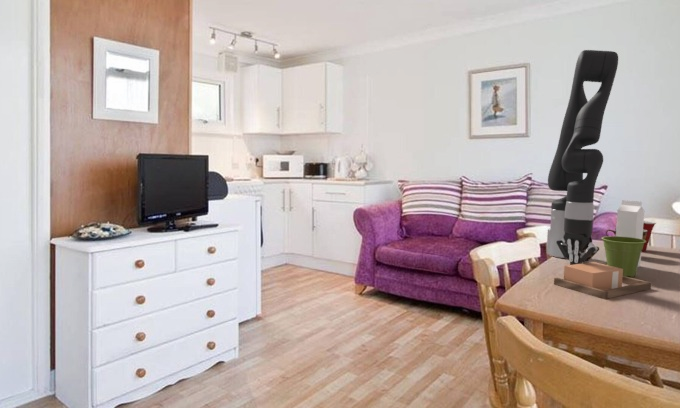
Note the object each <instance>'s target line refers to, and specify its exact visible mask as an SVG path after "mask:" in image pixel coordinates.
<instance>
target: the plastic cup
mask: <svg viewBox="0 0 680 408" xmlns="http://www.w3.org/2000/svg"><path fill="white" fill-rule="evenodd" d="M656 224H657V222H656V221H649V220H644V224H643V229H644V230H647V235H646V238H645V240H646V243H644V246H643V249H642V250H641V252H646V251H647V249H648V244H649V241H650V239H651V234H652V233H653V232H652V231H653V229H654V228H655V225H656Z"/></svg>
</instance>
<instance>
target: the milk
mask: <svg viewBox="0 0 680 408" xmlns="http://www.w3.org/2000/svg"><path fill="white" fill-rule="evenodd" d="M642 203H643V202H642V201H637V200H636V201H635V200H626V199H625V200H621V205H620V206H619V208H618V209H617V213H616V226H615V228H616V230H615V231H616V236H619V237H632V238H638V239H642V237H643V224H644V221H645V209H644V208H643V207H642V205H643V204H642ZM641 261H642V253H641V254H640V258H639V262H638V266H637V268H639V267H641V263H642V262H641Z"/></svg>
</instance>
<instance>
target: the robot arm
mask: <svg viewBox="0 0 680 408" xmlns="http://www.w3.org/2000/svg"><path fill="white" fill-rule="evenodd" d="M618 65H619V55H618V53H617V52H616V51H612V50H595V49H584V50H582V51H581V52H580V53H579V55H578V57H577V60H576V63H575V68H574V75H573V77H572V78H573V79H572V85H571V90H570V96H569V99H568V104H567V108H566V110H565V111H566V112H565V114H564V118H563V121H562V126H561V129H560V134H559V138H558V139H559V140H558V143H557V147H556V152H555V153H554V157H553V160H552V163H551V165H550V168H549V172H548V177H547V185H548V188H549V189H550V190H552V191H554V192H555V191H556V192H557V191H558V192H566V195H565V196H563V197H561V198H559V199H555V200H553V201H552V202H551V205H550V206H551V207H550V208H551V209H550V224H549V225H550V226H549V227H550V228H547V236H546V237H547V238H546V239H547V240H546V255H549V256H551V257H555V258H562V259H567V260H568V261H569V265H574V264H582V263H588V262H590V260H591V259H592V258H593V257H594V256H595V255H596V254H598V252H599V251H600V247H599V246H596V245H595V244H594V243H593V238H592V234H593V230H594V229H593V228H594V227H593V226H594V213H595V212H594V211H595V208H594V197H595V196H594V195H595V187H596V183H597V179H598V177H599V174H600V172H601V169H602V167H603V164H604V155H603V153H602V151H601V150H599V149H598V148H597V149H596V148H586V147H588V146H592V145H596V144H597V143H598V142H599V141H600V138H601V132H602V126H603V119H604V116H605V115H604V114H605V110H606V108H607V104H608V101H609V99H610V95H611V92H612V89H613V85H614V81H615V78H616V74H617V69H618ZM585 82H589V83H590V82H591V83H600V86H599V89H598V90H597V91H596V92H595V94H594V95H593V96H592V97H591V98H590V99H589V100H588V98H587V96H586V92H585V90H584V89H585V88H584V83H585ZM584 174H586V176H585V178H584Z"/></svg>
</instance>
